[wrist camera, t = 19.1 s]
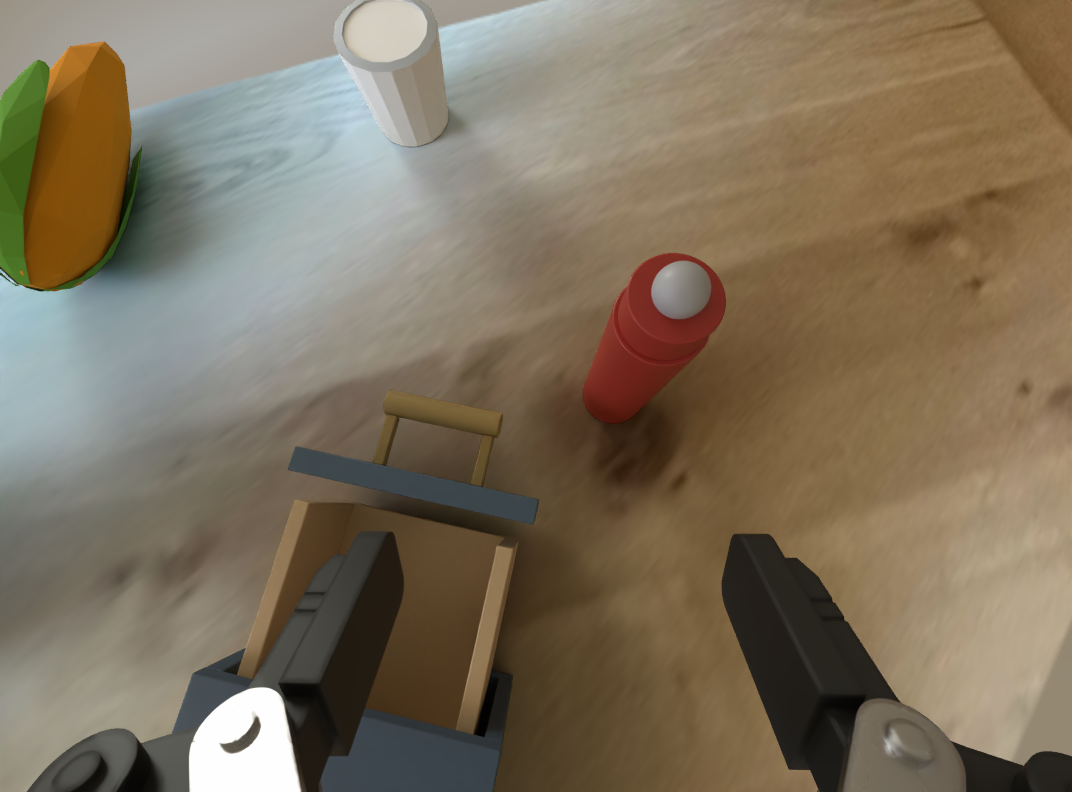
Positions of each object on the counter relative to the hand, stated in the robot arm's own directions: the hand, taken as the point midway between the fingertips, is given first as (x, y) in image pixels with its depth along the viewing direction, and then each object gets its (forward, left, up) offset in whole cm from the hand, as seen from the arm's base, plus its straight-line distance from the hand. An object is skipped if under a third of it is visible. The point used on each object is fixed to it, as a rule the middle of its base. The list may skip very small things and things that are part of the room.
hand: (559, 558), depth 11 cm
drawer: (-2, -8, -18) cm, 19 cm away
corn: (-39, -15, -19) cm, 46 cm away
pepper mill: (-5, +8, -19) cm, 21 cm away
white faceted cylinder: (-32, +8, -19) cm, 38 cm away
